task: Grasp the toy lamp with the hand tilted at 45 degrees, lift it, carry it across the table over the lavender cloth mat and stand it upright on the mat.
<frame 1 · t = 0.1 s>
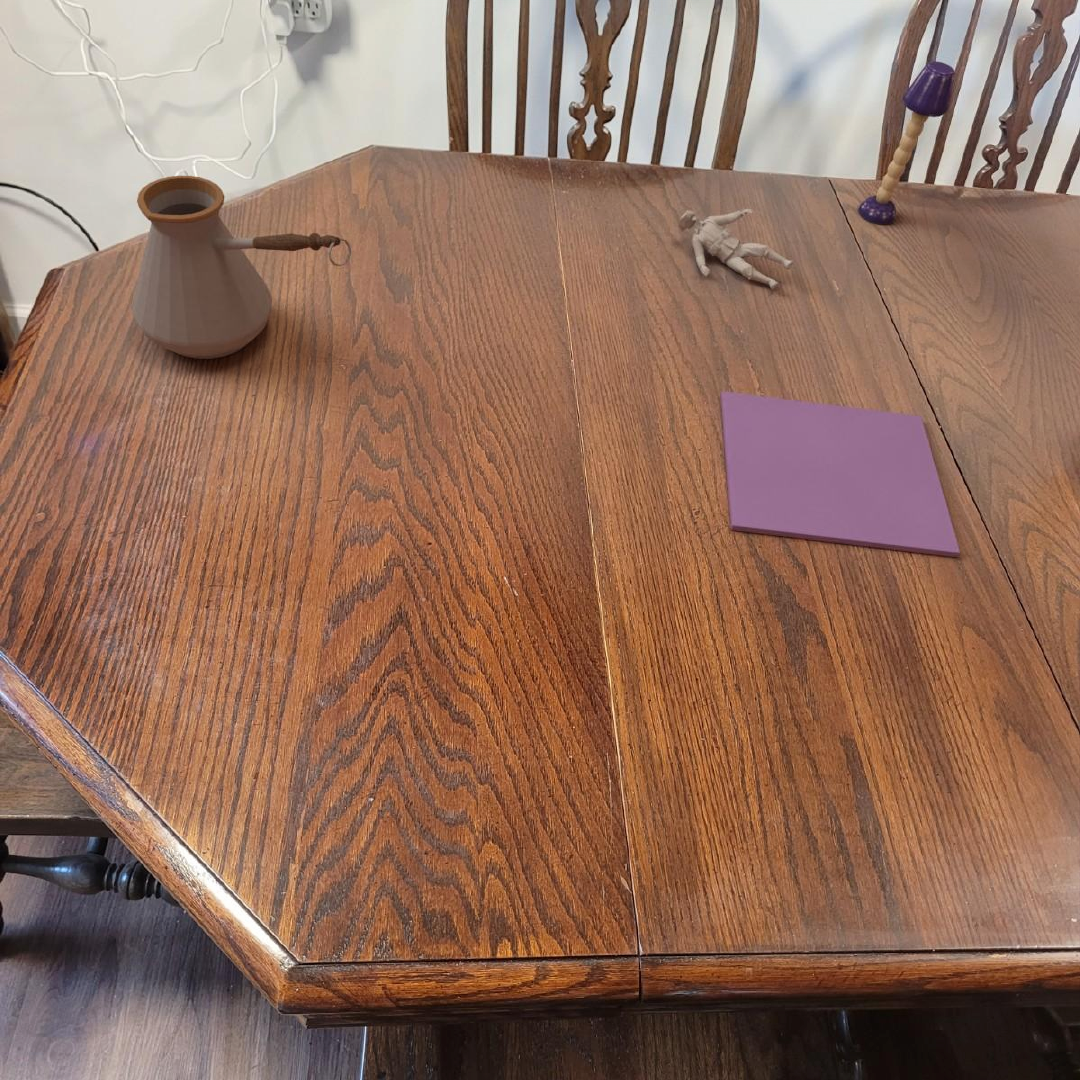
soldier figure: (728, 267, 98), on the table
coffee pot: (253, 354, 81), on the table
toy lamp: (877, 218, 107), on the table
mat: (831, 471, 79), on the table
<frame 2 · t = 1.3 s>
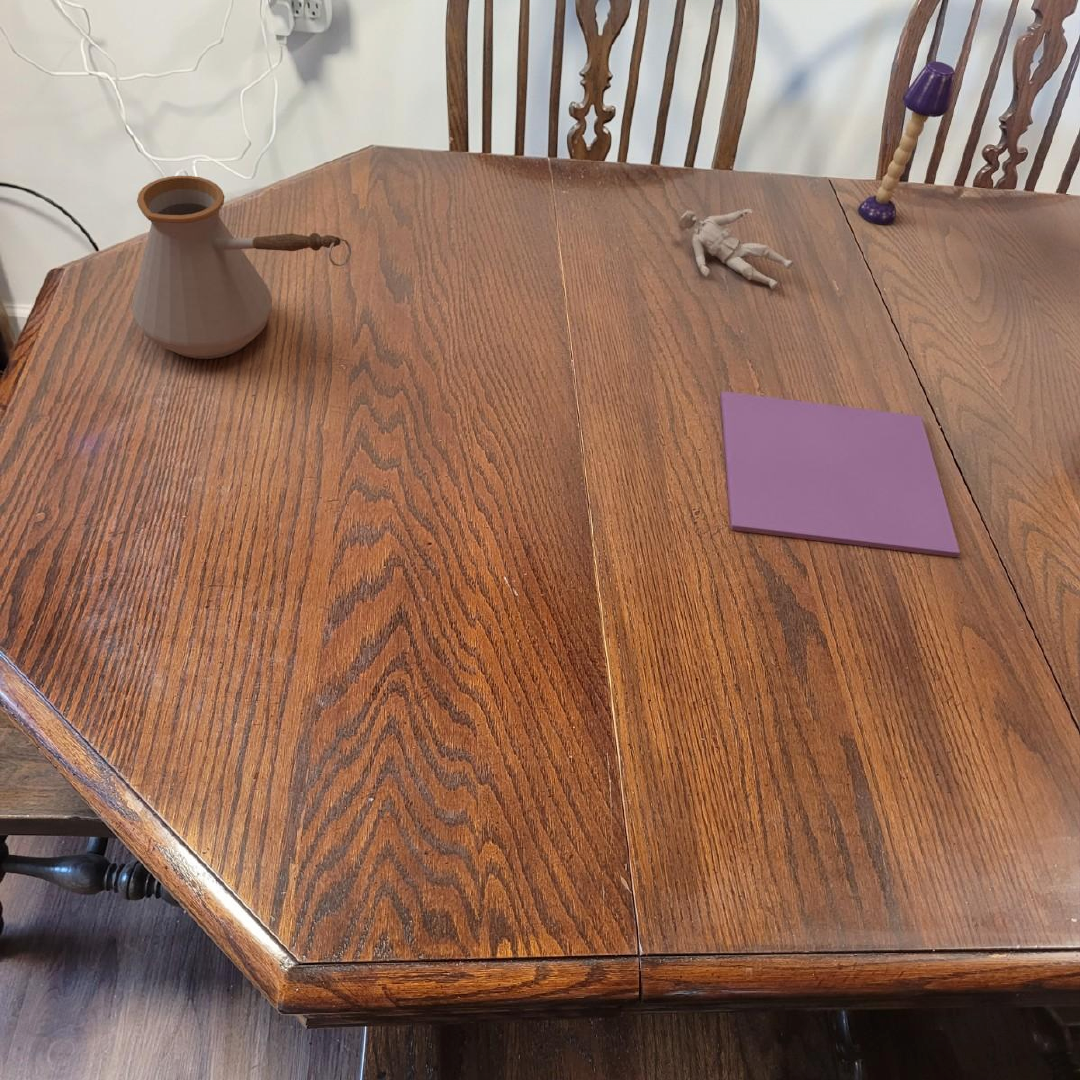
nothing on the table moved.
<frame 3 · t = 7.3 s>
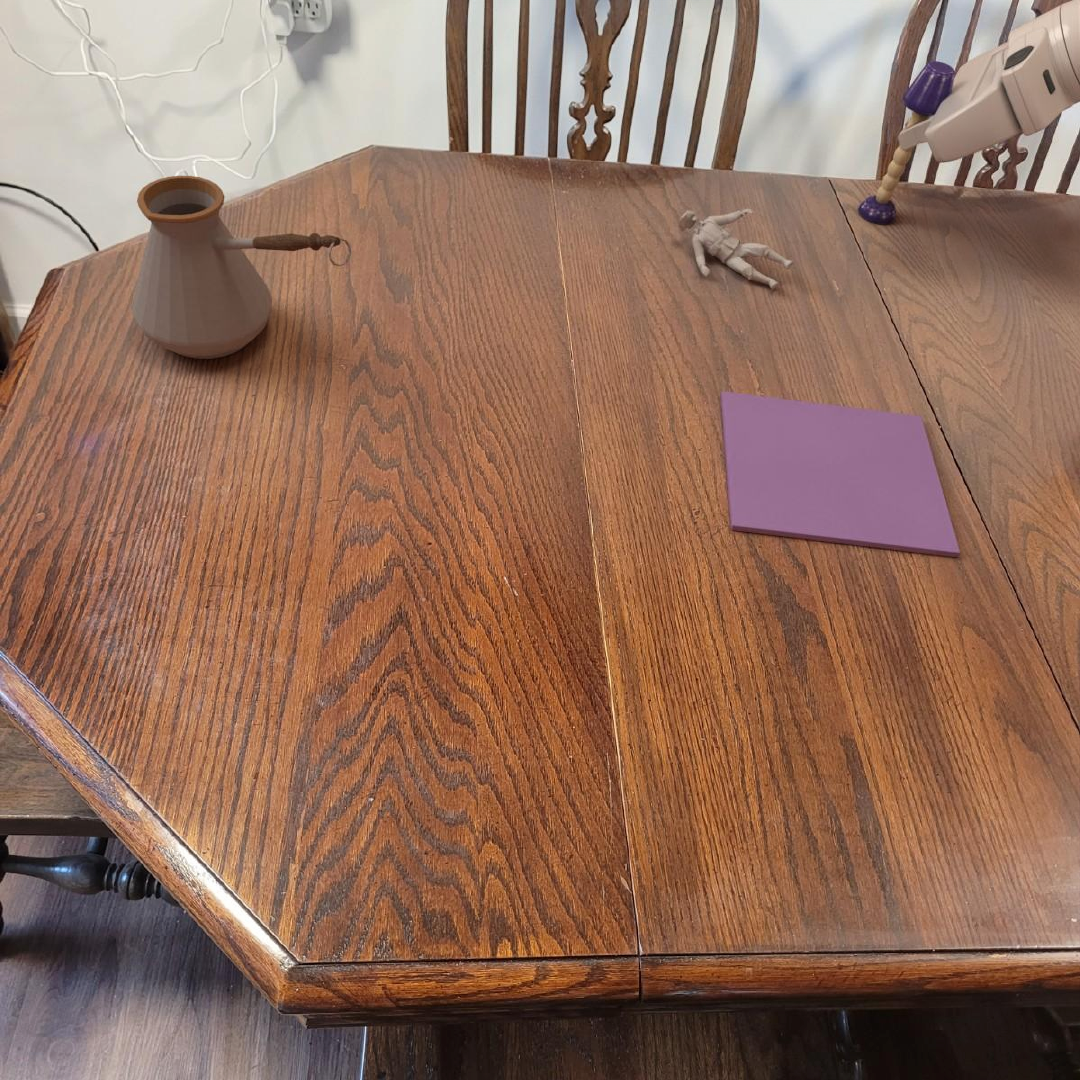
hand: (904, 134, 100), 9 cm above the table, tool tilted 45°, fingers closed on toy lamp
toy lamp: (877, 217, 107), on the table, touching gripper
everything else where it was.
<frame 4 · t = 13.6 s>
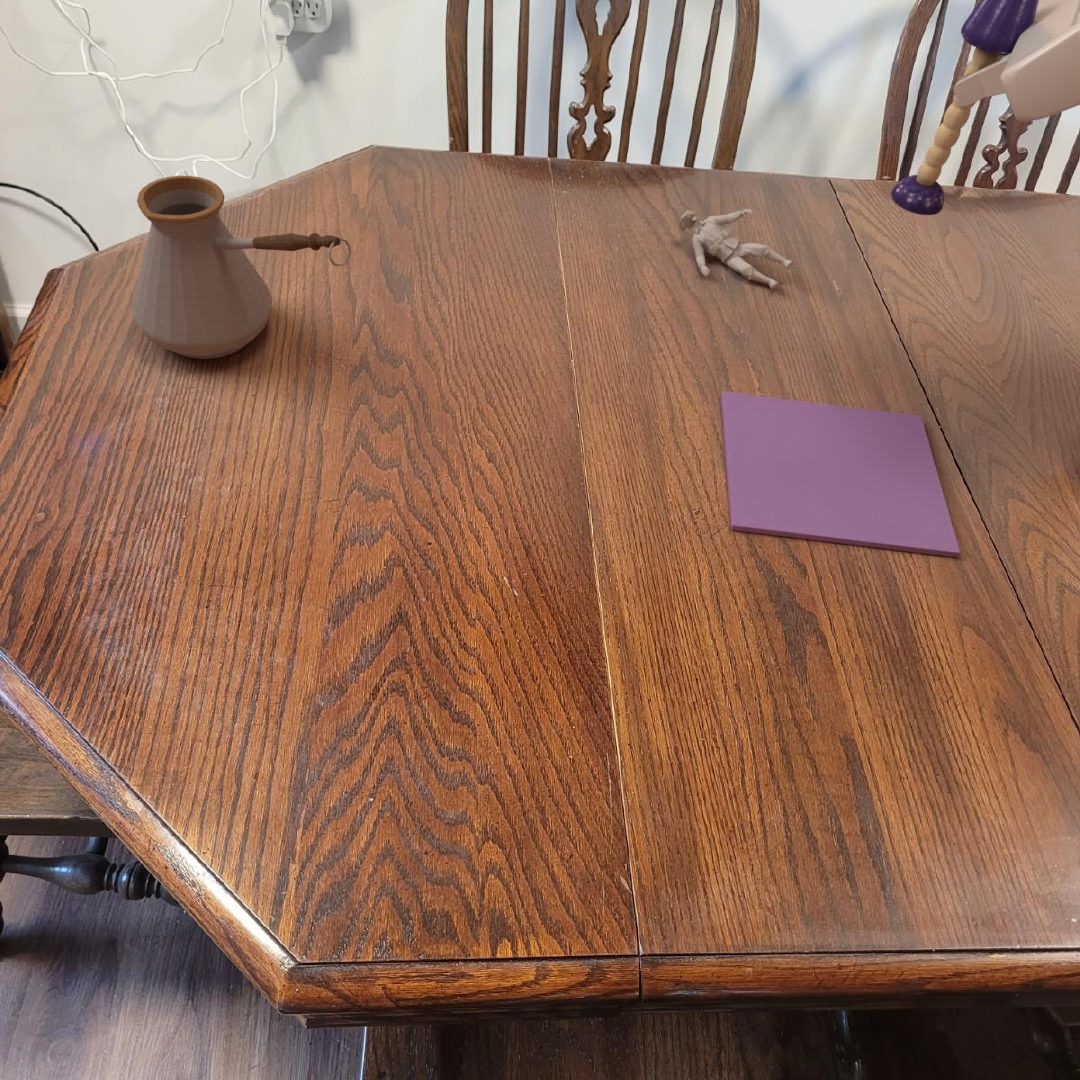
hand: (962, 86, 70), 25 cm above the table, tool tilted 45°, fingers closed on toy lamp
toy lamp: (917, 206, 77), point 16 cm above the table, touching gripper
everything else where it was.
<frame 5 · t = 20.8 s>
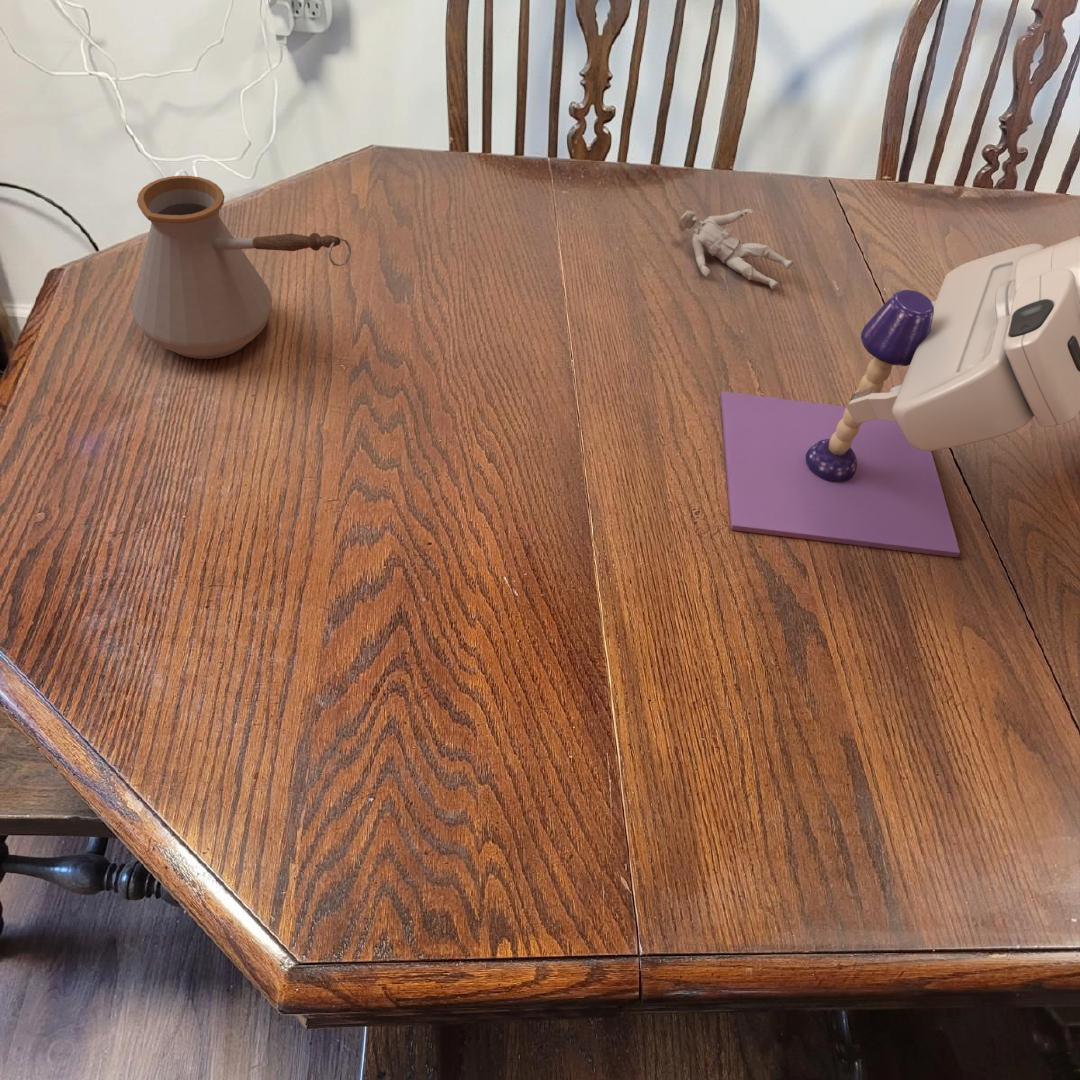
hand: (868, 374, 71), 10 cm above the table, tool tilted 45°, fingers open, 8 cm apart
toy lamp: (831, 469, 78), resting on mat
everything else where it was.
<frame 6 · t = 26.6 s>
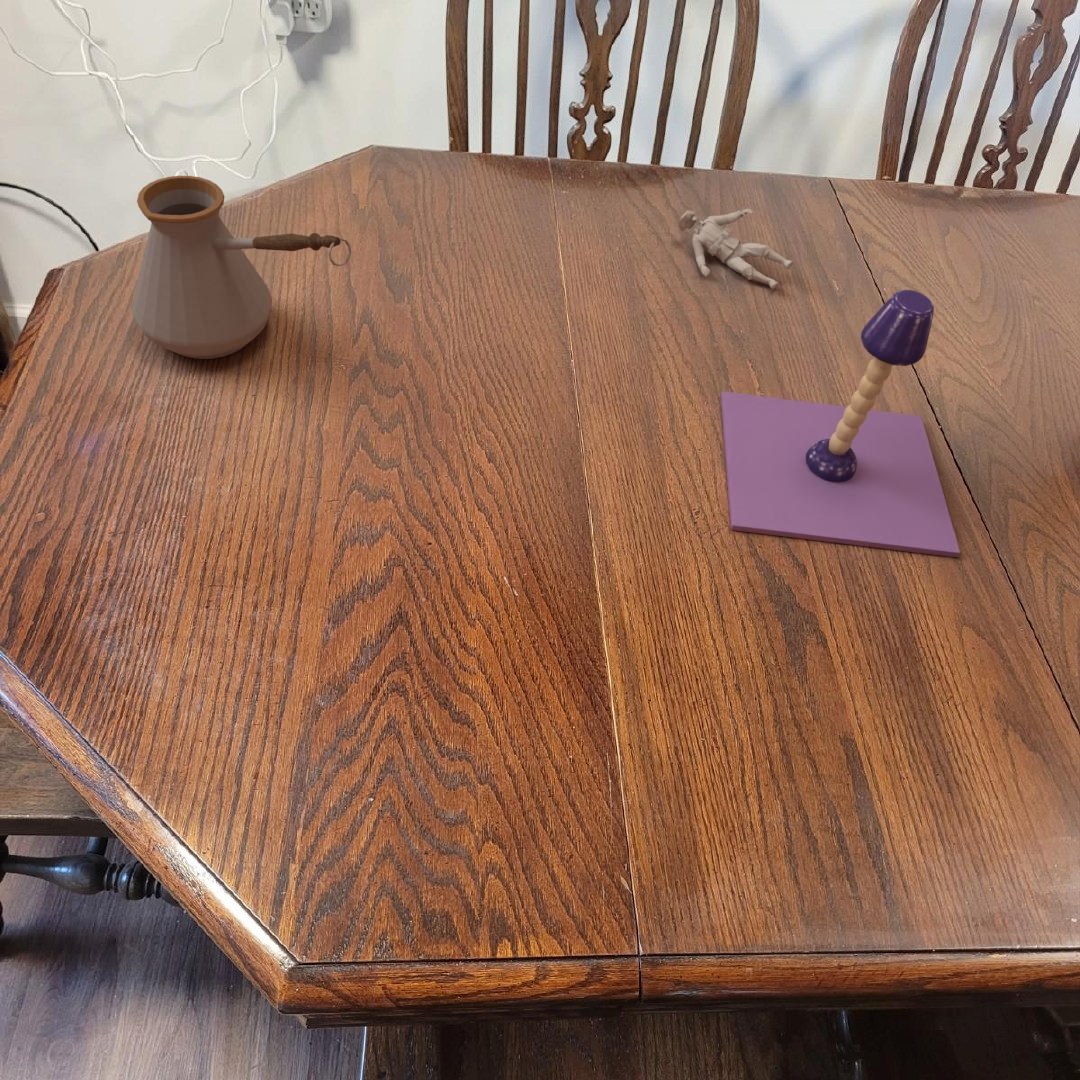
nothing on the table moved.
at the end: toy lamp inside the target area on the mat (0.1 cm from its centre), point 0.4 cm above the mat's base; toy lamp tilted 0°; the gripper is holding nothing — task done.
